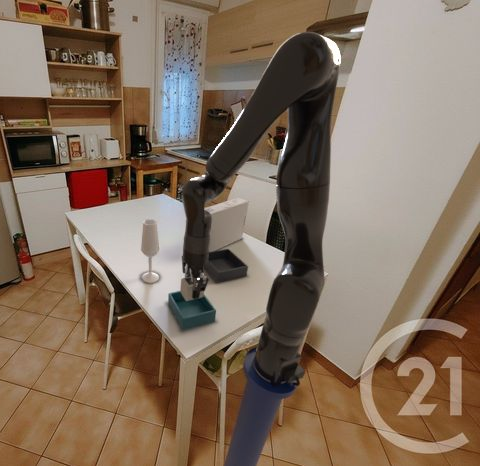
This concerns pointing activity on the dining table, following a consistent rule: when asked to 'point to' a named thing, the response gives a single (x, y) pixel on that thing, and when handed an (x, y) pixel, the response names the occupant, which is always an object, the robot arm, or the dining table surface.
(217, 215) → the packaging
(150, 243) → the champagne flute
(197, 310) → the near tote
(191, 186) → the robot arm
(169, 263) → the dining table surface
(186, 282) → the white box with panel
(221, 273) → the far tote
